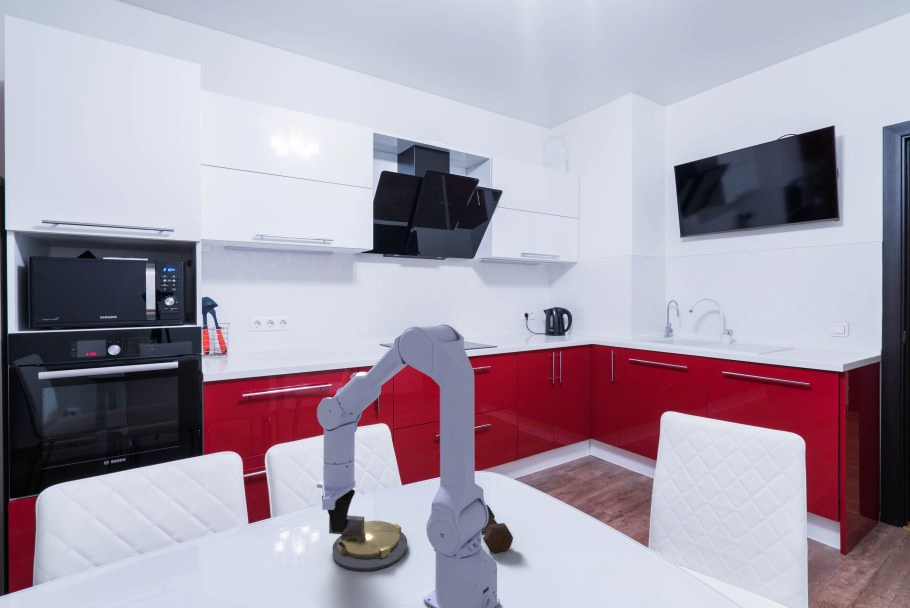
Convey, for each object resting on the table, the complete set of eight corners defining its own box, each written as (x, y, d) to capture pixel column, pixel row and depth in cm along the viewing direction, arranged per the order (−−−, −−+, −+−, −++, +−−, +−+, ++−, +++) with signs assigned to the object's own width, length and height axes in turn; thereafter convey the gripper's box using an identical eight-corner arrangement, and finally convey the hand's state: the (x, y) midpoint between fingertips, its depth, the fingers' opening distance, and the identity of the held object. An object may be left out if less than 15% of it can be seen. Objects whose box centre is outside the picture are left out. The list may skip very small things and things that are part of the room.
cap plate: (422, 548, 86) (422, 542, 86) (363, 582, 76) (363, 575, 76) (375, 524, 96) (375, 518, 96) (317, 551, 85) (317, 545, 85)
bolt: (480, 524, 100) (503, 560, 85) (460, 515, 99) (481, 550, 84) (492, 500, 100) (517, 531, 86) (473, 491, 99) (495, 521, 85)
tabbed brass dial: (415, 546, 84) (415, 522, 84) (353, 569, 77) (353, 543, 77) (384, 520, 94) (384, 499, 94) (326, 538, 87) (327, 515, 87)
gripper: (328, 446, 92) (328, 512, 92) (305, 473, 78) (304, 551, 78) (363, 447, 92) (362, 513, 92) (345, 473, 78) (345, 552, 78)
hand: (338, 530), depth 85 cm, fingers closed, pressing on tabbed brass dial
